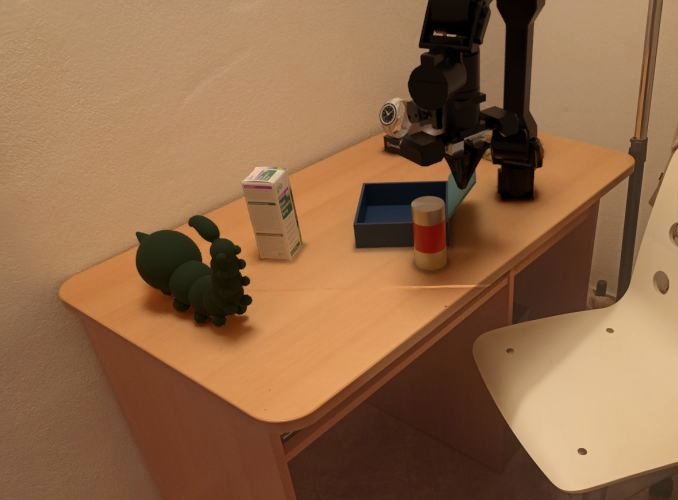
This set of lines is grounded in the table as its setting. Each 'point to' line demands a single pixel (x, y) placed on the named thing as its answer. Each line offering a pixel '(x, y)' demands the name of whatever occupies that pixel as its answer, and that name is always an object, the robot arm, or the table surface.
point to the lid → (457, 193)
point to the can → (429, 232)
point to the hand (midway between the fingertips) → (461, 188)
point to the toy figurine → (195, 271)
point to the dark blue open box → (393, 212)
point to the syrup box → (272, 212)
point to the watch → (388, 121)
